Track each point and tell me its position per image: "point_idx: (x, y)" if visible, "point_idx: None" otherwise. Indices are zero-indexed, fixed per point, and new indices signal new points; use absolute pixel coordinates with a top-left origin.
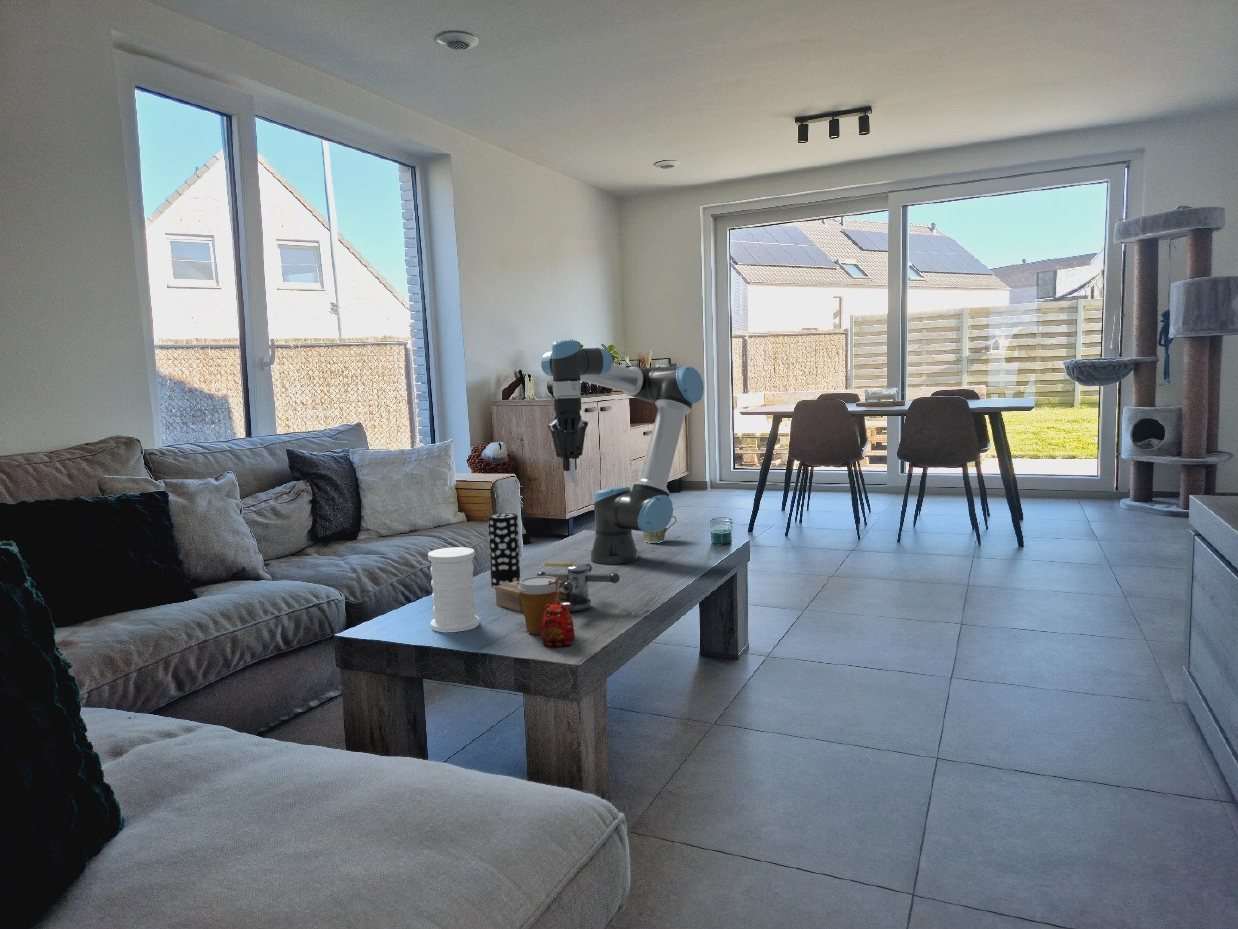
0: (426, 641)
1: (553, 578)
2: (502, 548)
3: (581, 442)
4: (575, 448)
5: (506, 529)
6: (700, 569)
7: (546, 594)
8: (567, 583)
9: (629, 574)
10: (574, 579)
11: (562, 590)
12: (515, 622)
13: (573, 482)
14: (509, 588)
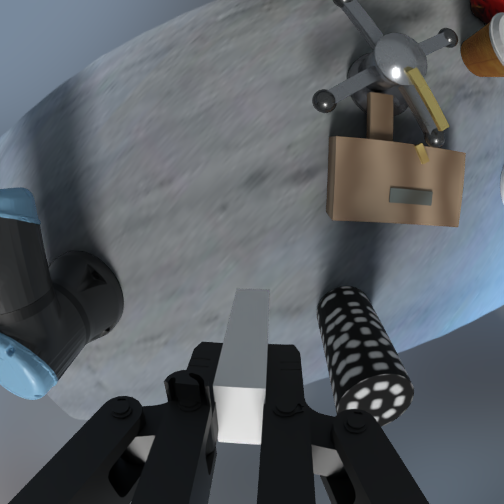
0: None
1: (500, 28)
2: (386, 334)
3: (62, 490)
4: (171, 467)
5: (391, 356)
6: (36, 116)
7: None
8: (455, 33)
9: (130, 182)
10: (424, 43)
11: (387, 113)
12: (478, 117)
13: (254, 290)
14: (456, 191)
